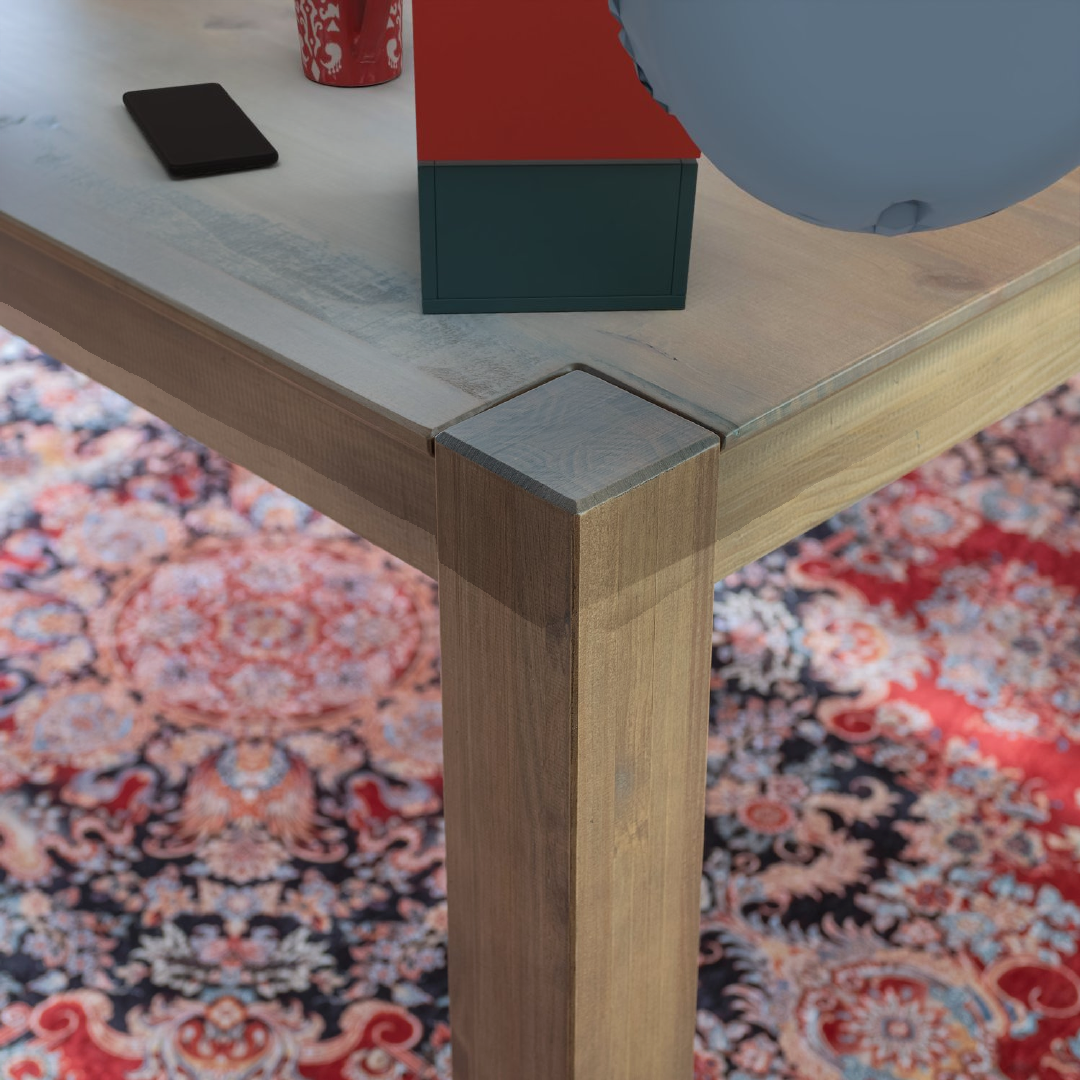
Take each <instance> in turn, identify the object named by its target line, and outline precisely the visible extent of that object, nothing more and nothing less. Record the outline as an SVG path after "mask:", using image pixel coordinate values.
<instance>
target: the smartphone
mask: <svg viewBox="0 0 1080 1080" xmlns="http://www.w3.org/2000/svg"><path fill="white" fill-rule="evenodd" d="M121 99H122V103H123V104H124V106H125V108H126V109H127V111H128V112H129V114H130V115H131V117H132V118H133V120H134V122H135V123H136V125H137V126H138V127H139V129H140V131H141V132H142V134H143V135H144V136H145V138H146V140H147V141H148V143H149V145H150V146H151V147H152V149H153V150H154V152H155V154H156V155H157V156H158V158H159V160H160V161H161V162H162V164H163V165H164V167H165V169H167V171H168V173H169V174H170V175H171V176H173V177H178V178H179V177H180V178H181V177H189V176H197V175H204V174H205V175H206V174H212V173H219V172H228V171H236V170H242V169H252V168H258V167H267V166H273V165H275V164H277V162H278V161H279V158H280V157H279V153H278V150H276V148H275V147H274V146H273V145H272V143H271V142H270V141H269V140H268V139H267V137H266V136H265V135H264V134H263V132H262V131H260V129H259V128H258V127H257V125H256V124H255V123H254V122H253V121H252V119H251V118H250V117H249V116H248V115H247V114H246V112H245V111H244V110H243V109H242V108H241V107H240V105H238V103H237V102H236V101H235V100H234V99H233V97H232V96H231V95H230V94H229V93H228V92H227V90H226V89H225V88H224V87H223V86H222V85H221V84H220V83H218V82H205V83H204V82H203V83H196V84H195V83H194V84H185V85H176V86H167V87H158V88H148V89H147V88H146V89H139V90H138V89H137V90H129V91H125V92H124V93H123V95H122V98H121Z"/></svg>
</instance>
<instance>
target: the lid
mask: <svg viewBox="0 0 1080 1080" xmlns="http://www.w3.org/2000/svg"><path fill="white" fill-rule="evenodd" d="M411 18H412V21H411V23H412V46H413V47H412V48H413V52H412V53H413V75H414V78H413V79H414V81H413V82H414V105H415V136H416V137H415V138H416V161H417V160H418V161H465V160H578V159H691V158H696V159H701V157H702V152H701V150H700V149H699V148H698V147H697V145H696V144H695V143H694V142H693V140H692V139H691V138H690V136H689V135H688V133H687V132H686V130H685V129H684V127H683V126H682V124H681V123H680V122H679V120H678V119H677V117H676V116H675V115H671V114H668V113H667V112H666V111H665V110H664V109H663V108H662V107H661V106H660V105H659V104H658V103H657V102H656V101H655V100H654V99H653V97H652V96H651V95H650V93H649V92H648V91H647V90H646V88H645V87H644V86H643V84H642V83H641V82H640V80H639V78H638V75H637V72H636V68H635V65H634V62H633V59H632V58H631V56H630V55H629V53H628V52H627V51H626V49H625V48H624V46H623V45H622V43H621V41H620V39H619V37H618V34H619V32H620V31H621V29H622V26H621V24H620V23H619V22H618V21H617V20H616V18H615V17H614V16H613V15H612V14H611V12H610V10H609V4H608V0H411Z"/></svg>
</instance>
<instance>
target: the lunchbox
mask: <svg viewBox="0 0 1080 1080" xmlns="http://www.w3.org/2000/svg"><path fill="white" fill-rule="evenodd" d="M416 163H417V164H416V165H417V166H416V167H417V194H418V225H419V227H418V228H419V254H420V255H419V256H420V286H421V287H420V288H421V289H420V291H421V313H422V314H471V313H472V314H473V313H475V314H477V313H481V314H483V313H531V312H533V313H535V312H537V313H539V312H588V311H589V312H590V311H591V312H592V311H593V312H595V311H645V310H646V311H647V310H648V311H650V310H652V311H653V310H685V309H686V302H687V292H688V291H687V290H688V281H689V271H690V270H689V268H690V260H691V251H692V250H691V248H692V238H693V237H692V236H693V226H694V215H695V205H696V194H697V182H698V174H699V173H698V172H699V163H698V161H697V158H691V159H578V160H465V161H418V160H417V159H416Z"/></svg>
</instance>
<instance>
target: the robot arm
mask: <svg viewBox="0 0 1080 1080" xmlns="http://www.w3.org/2000/svg"><path fill="white" fill-rule="evenodd" d="M608 4H609V10H610V12H611V14H612V15H613V16H614V17H615V18H616V20H617V21H618V22H619V23H620V24H621V26H622V29H621V31H620V32H619V34H618V37H619V39H620V41H621V43H622V45H623V46H624V48H625V49H626V51H627V52H628V53H629V55H630V56H631V58H632V59H633V62H634V65H635V68H636V72H637V75H638V78H639V80H640V82H641V83H642V84H643V86H644V87H645V88H646V90H647V91H648V92H649V93H650V95H651V96H652V97H653V99H654V100H655V101H656V102H657V103H658V104H659V105H660V106H661V107H662V108H663V109H664V110H665V111H666V112H667V113H668V114H671V115H675V116H676V117H677V119H678V120H679V122H680V123H681V124H682V126H683V127H684V129H685V130H686V132H687V133H688V135H689V136H690V138H691V139H692V140H693V142H694V143H695V144H696V145H697V147H698V148H699V149H700V150H701V154H702V155H704V156H705V157H706V158H707V160H708V161H709V162H710V163H711V164H712V165H713V166H714V167H715V168H716V169H717V170H718V171H719V172H720V173H721V174H723V175H724V176H725V177H726V178H727V179H728V180H729V181H731V182H732V183H733V184H734V185H735V186H736V187H738V188H739V189H741V190H742V191H744V192H745V193H747V194H749V195H750V196H751V197H753V198H754V199H756V200H757V201H760V202H761V203H763V204H765V205H767V206H769V207H771V208H773V209H775V210H777V211H779V212H781V213H782V214H784V215H787V216H789V217H792V218H794V219H797V220H799V221H802V222H805V223H807V224H810V225H814V226H817V227H821V228H826V229H831V230H835V231H841V232H847V233H858V234H868V235H869V234H870V235H878V236H882V237H888V238H893V237H897V236H902V235H906V234H907V235H908V234H913V233H914V234H916V233H924V232H933V231H939V230H943V229H947V228H952V227H956V226H960V225H964V224H966V223H970V222H974V221H977V220H980V219H983V218H986V217H990V216H992V215H994V214H996V213H999V212H1001V211H1003V210H1005V209H1008V208H1010V207H1012V206H1014V205H1016V204H1019V203H1022V202H1024V201H1026V200H1028V199H1030V198H1032V197H1033V196H1036V195H1037V194H1039V193H1041V192H1042V191H1044V190H1046V189H1047V188H1049V187H1050V186H1052V185H1054V184H1055V183H1057V182H1058V181H1059V180H1061V179H1062V178H1064V177H1065V176H1067V175H1068V174H1070V173H1071V172H1073V171H1074V170H1076V169H1077V168H1078V167H1080V0H608Z"/></svg>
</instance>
